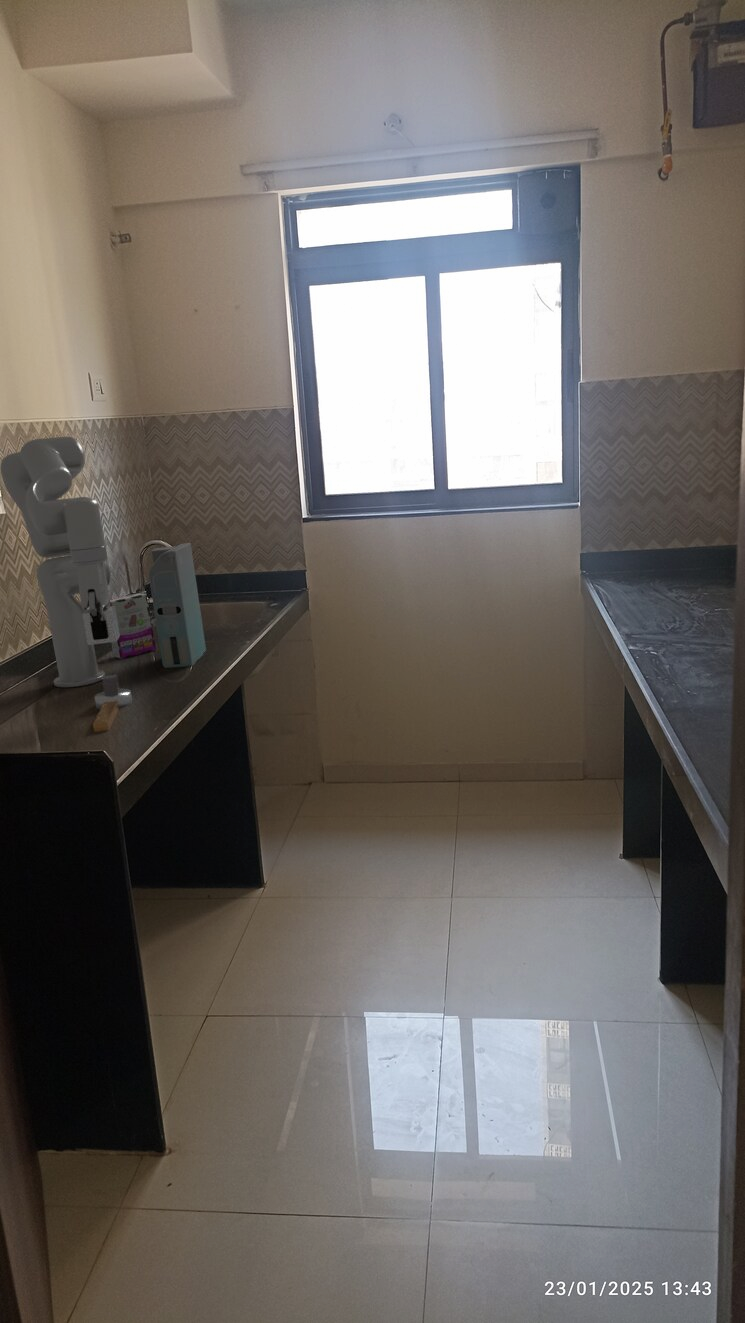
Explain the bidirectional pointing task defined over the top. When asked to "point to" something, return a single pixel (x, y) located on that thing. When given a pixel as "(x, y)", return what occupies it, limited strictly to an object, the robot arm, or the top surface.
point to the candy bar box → (132, 626)
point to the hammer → (110, 702)
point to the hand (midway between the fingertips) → (103, 635)
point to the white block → (110, 623)
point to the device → (176, 606)
